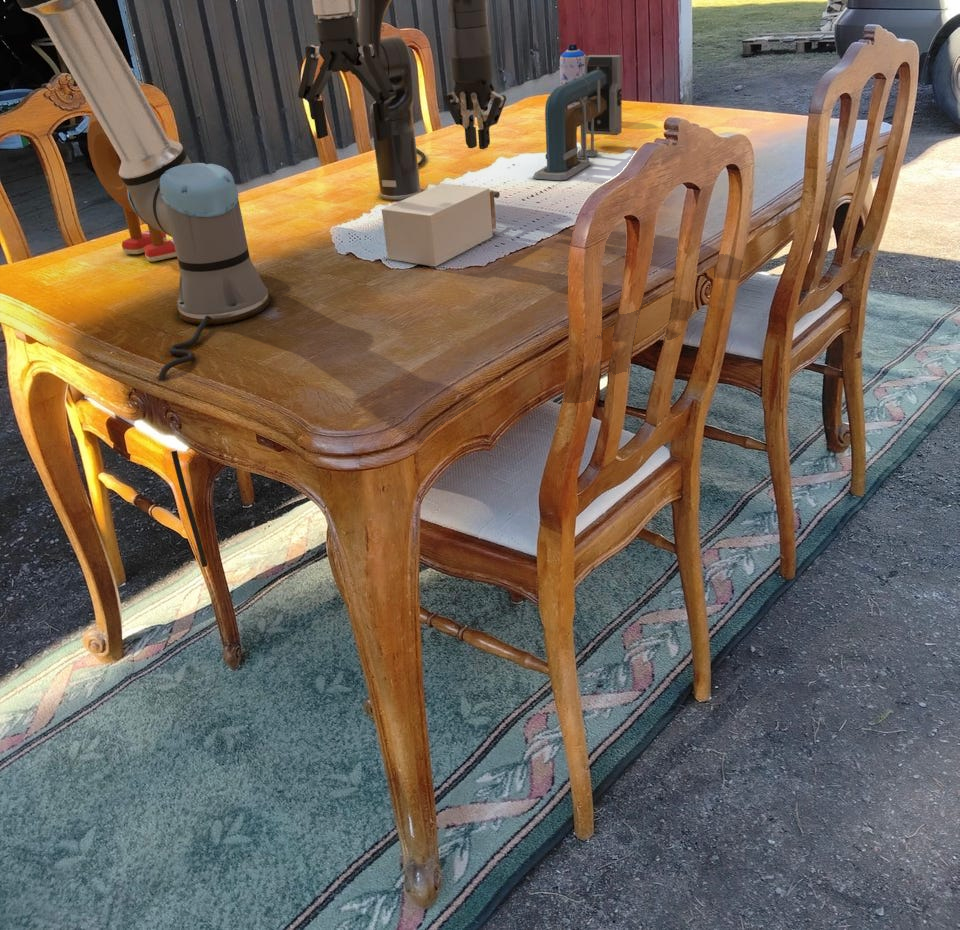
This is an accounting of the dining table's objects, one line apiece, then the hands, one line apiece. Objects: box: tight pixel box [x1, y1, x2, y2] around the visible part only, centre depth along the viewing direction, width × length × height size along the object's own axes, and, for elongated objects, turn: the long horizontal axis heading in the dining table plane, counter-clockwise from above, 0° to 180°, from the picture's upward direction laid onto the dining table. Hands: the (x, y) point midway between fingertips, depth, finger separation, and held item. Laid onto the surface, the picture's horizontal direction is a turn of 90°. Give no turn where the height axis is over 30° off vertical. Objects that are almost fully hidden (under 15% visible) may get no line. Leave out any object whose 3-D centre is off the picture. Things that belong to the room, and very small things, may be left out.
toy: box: [86, 109, 177, 263], centre depth 189 cm, size 21×10×30 cm, turn 47°
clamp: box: [532, 54, 623, 181], centre depth 230 cm, size 35×9×21 cm, turn 151°
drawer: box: [490, 189, 501, 230], centre depth 188 cm, size 23×10×7 cm, turn 145°
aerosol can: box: [559, 43, 587, 109], centre depth 273 cm, size 8×8×20 cm
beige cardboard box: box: [381, 182, 494, 268], centre depth 184 cm, size 19×11×10 cm, turn 145°
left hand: (352, 138), depth 183 cm, fingers open, 13 cm apart
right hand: (478, 147), depth 188 cm, fingers closed
